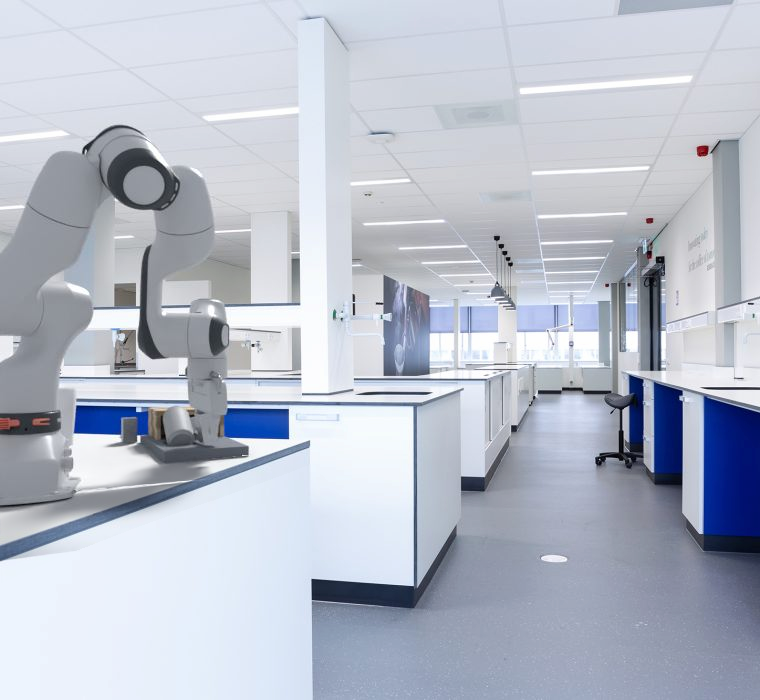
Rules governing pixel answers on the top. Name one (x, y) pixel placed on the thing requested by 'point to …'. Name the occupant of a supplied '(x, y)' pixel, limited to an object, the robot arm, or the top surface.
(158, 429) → the cubby
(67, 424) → the drinking glass
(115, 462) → the top surface
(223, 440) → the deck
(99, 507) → the top surface
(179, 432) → the beverage can
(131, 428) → the mallet
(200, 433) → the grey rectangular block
